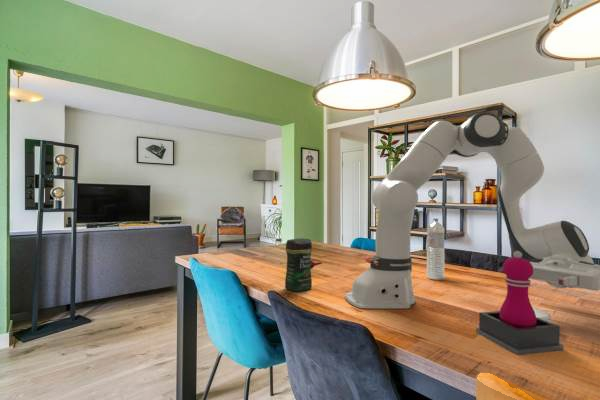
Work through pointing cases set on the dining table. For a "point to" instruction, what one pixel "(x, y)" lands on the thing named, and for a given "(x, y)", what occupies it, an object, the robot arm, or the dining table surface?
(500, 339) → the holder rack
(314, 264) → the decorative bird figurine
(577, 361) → the dining table surface
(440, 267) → the water bottle
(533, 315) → the pepper mill
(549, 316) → the coaster
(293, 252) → the coffee jar
